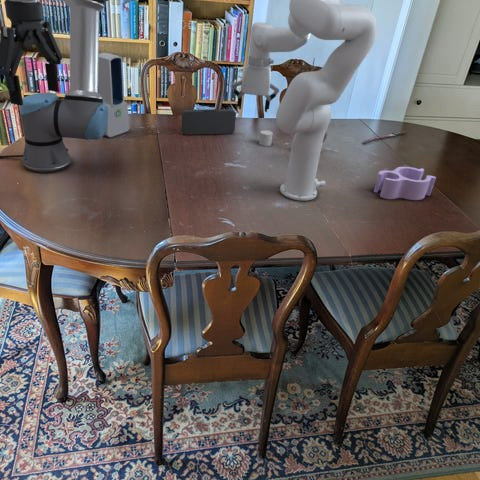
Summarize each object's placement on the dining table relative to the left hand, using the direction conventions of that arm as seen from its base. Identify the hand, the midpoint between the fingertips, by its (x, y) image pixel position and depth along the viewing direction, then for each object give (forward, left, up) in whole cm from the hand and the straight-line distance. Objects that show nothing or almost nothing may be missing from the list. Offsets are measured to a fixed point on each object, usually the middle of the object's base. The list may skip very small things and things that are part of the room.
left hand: (36, 97), depth 113 cm
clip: (+105, +48, -34) cm, 121 cm away
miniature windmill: (+68, +108, -34) cm, 133 cm away
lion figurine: (+72, +77, -34) cm, 111 cm away
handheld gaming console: (+29, +81, -34) cm, 93 cm away
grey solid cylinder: (+54, +79, -34) cm, 101 cm away
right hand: (+48, +64, -16) cm, 82 cm away
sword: (+107, +104, -34) cm, 154 cm away
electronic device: (-8, +68, -34) cm, 77 cm away
